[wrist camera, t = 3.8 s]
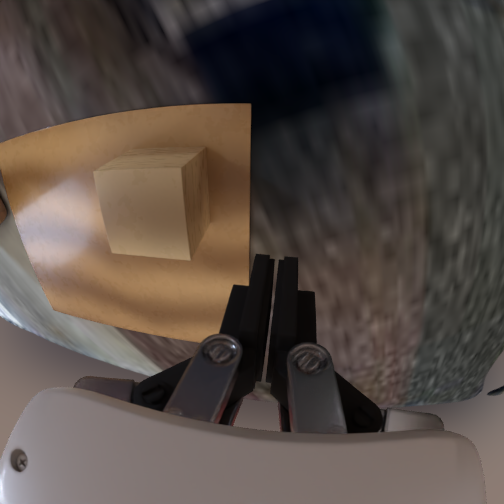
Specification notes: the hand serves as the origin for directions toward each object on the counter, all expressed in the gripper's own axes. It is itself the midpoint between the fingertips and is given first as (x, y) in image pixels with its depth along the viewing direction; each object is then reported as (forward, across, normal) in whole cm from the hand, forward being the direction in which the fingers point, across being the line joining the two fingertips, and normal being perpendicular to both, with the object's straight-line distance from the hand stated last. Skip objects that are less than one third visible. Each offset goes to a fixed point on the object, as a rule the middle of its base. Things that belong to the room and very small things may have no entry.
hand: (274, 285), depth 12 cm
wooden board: (+10, +16, +6) cm, 20 cm away
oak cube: (+10, +8, 0) cm, 13 cm away
